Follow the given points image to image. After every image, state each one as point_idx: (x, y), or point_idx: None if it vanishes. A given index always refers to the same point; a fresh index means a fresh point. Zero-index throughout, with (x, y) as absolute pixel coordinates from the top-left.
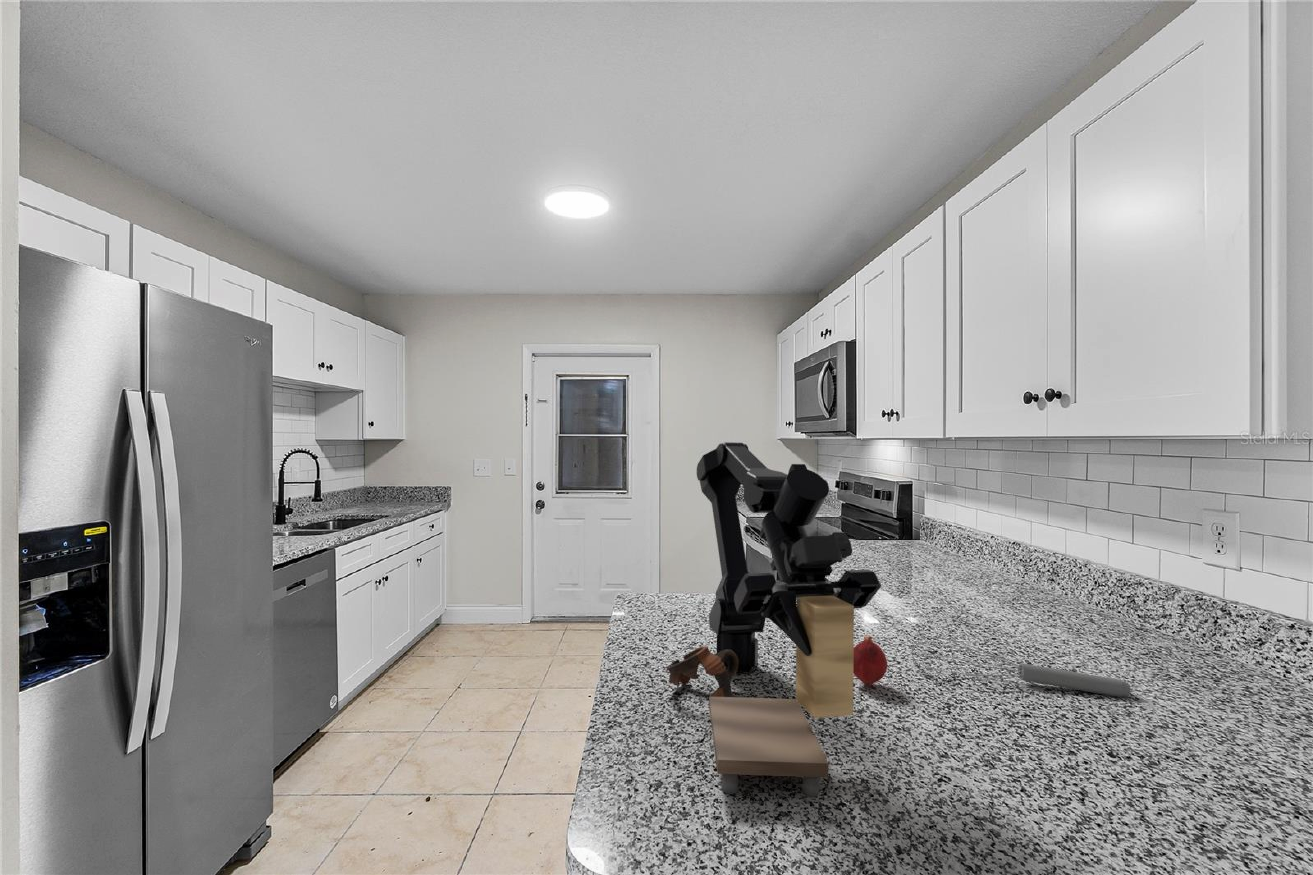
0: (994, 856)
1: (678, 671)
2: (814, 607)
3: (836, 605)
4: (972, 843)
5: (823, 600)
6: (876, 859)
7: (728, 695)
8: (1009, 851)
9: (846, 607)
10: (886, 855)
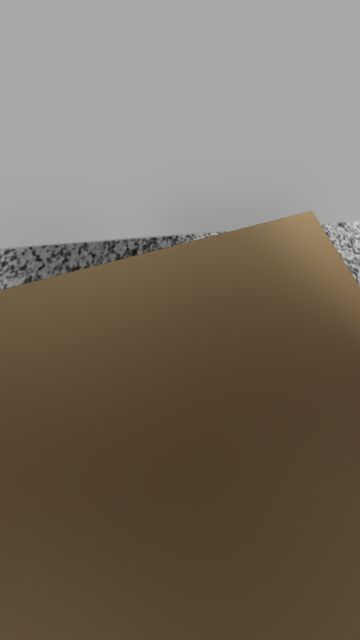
0: (50, 253)
1: None
2: (321, 231)
3: (136, 291)
4: (61, 266)
5: (235, 484)
6: (157, 241)
7: None
8: (32, 260)
9: (54, 283)
10: (147, 246)
